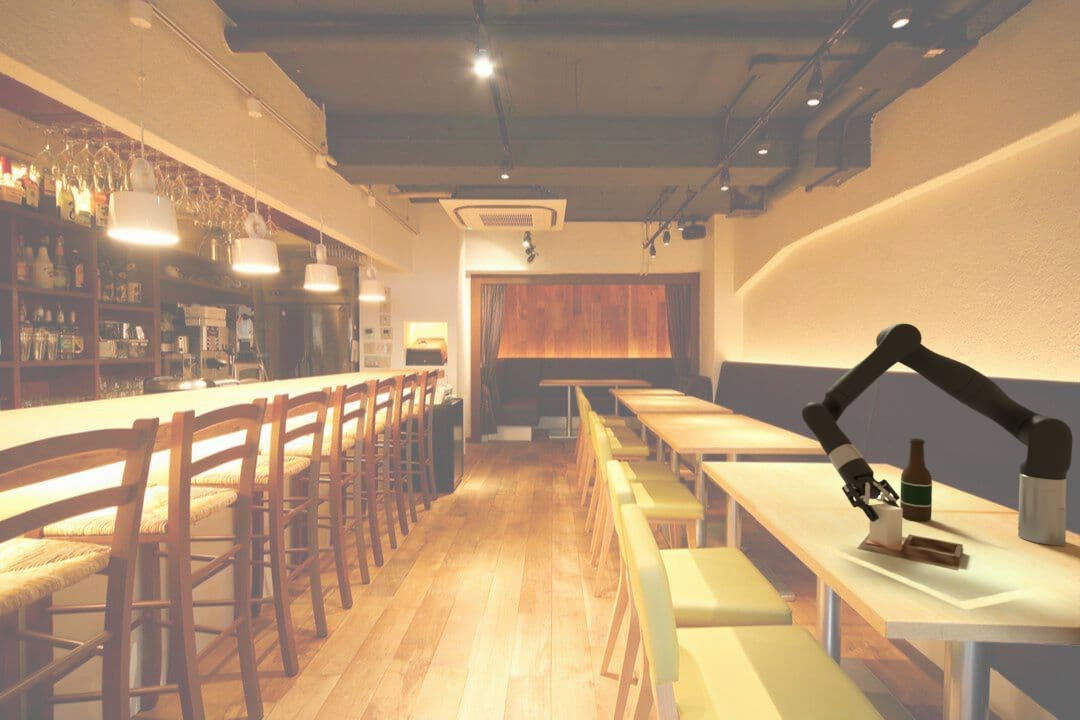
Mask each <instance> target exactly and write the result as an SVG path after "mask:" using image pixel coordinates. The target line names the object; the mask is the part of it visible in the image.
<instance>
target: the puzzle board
mask: <svg viewBox="0 0 1080 720" xmlns="http://www.w3.org/2000/svg"><path fill="white" fill-rule="evenodd" d="M869 534H870V532H869V533H868V534H867V536H866V537H865V538H864V539H863V540H862V541H861V543H860V544H859V545H858V546H857V548H856V549H858V550H861V551H866V552H870V553H871V552H872V553H876V554H881V555H885V556H889V557H893V558H899V559H904V560H907V561H911V562H918V563H921V564H927V565H933V566H935V567H941V568H945V569H950V570H953V571H959V568H960V563H961V560H962V556H963V552H964V548H963V546H964V545H963V544H961V543H957V542H951V541H946V540H941V539H936V538H931V537H926V536H920V535H916V534H915V535H914V534H911V533H909V534H908V535H907V537H905V536H902V544H899V545H892V546H885V545H882V544H880V543H877V542H874V541H872V540H869Z"/></svg>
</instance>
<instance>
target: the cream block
mask: <svg viewBox="0 0 1080 720" xmlns="http://www.w3.org/2000/svg"><path fill="white" fill-rule="evenodd" d="M870 505H871V506H872V508H873V509H874V510H875V512H876V513H877V515H878V516H879V519H878V520H876V521H875V522H872V521H871V520H870V519H869V533H870V534H869V533H868V534H869V540H872V541H874V542H877V543H880V544H882V545H885V546H892V545H899V544H902V537H903V517H902V515H903V509H902V508H898V507H895V506H892V505H888V504H885V503H875V504H870Z"/></svg>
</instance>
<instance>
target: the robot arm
mask: <svg viewBox="0 0 1080 720" xmlns="http://www.w3.org/2000/svg"><path fill="white" fill-rule="evenodd" d="M922 338H923V337H922V333H921V331H920V330H919V329H918V328H917V327H916V326H914V325H912V324H911V323H910V324H909V323H897V324H893V325H891V326H888V327H885V328H884V329H881V331H879V333H878V334H877V336H876V340H875V342H876V348H875V349H873V351H872V352H871V353H869V354H868V356H865V358H864V359H862V360H861V361H860V362H859V363H857V364H856V365H855V366H854V367H852V368H851V369H849V370H848V371H846V373H844V374H843V375H842V376H841V377H840V378H838V379H837V380H836V381H835V382H834V383H833V384H832V385H831V386H830V387H829V388H828V389H827V390H826V392H825V393H824V394H825V395H824V399H823V400H822V401H821V402H818V401H817V402H816V401H812V402H808V403H806V404H805V405H804V406H803V408H802V411H801V416H802V417H801V418H802V419H803V422H804V423H805V424H806V425H807V428H808V429H809V430H810V431H811V432H812V433H813V434H814V436H815V437H816V439H817V440H818V442H819V444H820V445H821V448H822V449H823V451H824V453H826V455H827V456H828V458H829V460H830V462H831V464H832V465H833V467H834V469H835V470H836V472H837V473H838V474H839V476H840V477H841V479H842V480H843V482H844V483H845V484H844V485H843V486H842V487H841V489H842V492H843V493H844V494H845V496H846V498H847V499H848V501H849V503H850V505H851V506H852V507H853V508H859V509H860V510H862V511H863V513H864V515H866V517H867V518H868V520H869V521H870V520H871V521H872V522H875V521H876V520H878V519H879V516H878V515H877V513H876V512H875V510H874V509H873V508H872V506H871V505H872V504H870V500H876V501H878V502H882V504H884V503H885V504H888V505H892V506H895V507H898V508H900V506H899V505H898V503H897V501H898V500H900V499H901V496H900V495H899V494H898V493H897V492H896V491H895V489H894V488H893V487H892V486H891V484H890V483H889V482H888V480H886V479H885V478H883V479H882V480H881V481H878V480H876V479H875V477H874V474H875V473H874V470H873V469H872V468H871V467H870V465H869V463H868V462H867V461H866V459H865V457H863V455H862V453H860V451H859V450H858V449H857V448H856V447H855V446H854V445H853V443H852V442H851V440H850V439H849V438H848V437H847V435H846V434H845V433H844V431H842V430H841V428H840V427H839V425H838V423H837V421H838V420H839V418H841V416H842V415H843V413H844V412H845V410H846V409H847V408H848V407H849V406H851V404H852V403H853V402H855V401H856V400H857V399H858V398H859V397H860V396H861V395H862V394H863V393H864V392H865V391H866V390H867V389H868V388H869V387H870V386H871V385H872V384H873V383H875V381H877V379H879V378H880V377H881V376H882V375H883V374H885V372H887V371H888V370H889V369H890V368H892V367H893V366H894V365H896V364H897V363H898V364H899V363H900V364H901V365H903V366H905V367H907V368H909V369H911V370H913V371H914V372H916V373H917V374H918V375H920V376H921V377H923V378H925V380H927V381H928V382H930V383H931V384H933V385H934V386H935V387H937V388H938V389H940V390H942V391H943V392H945V393H946V394H947V395H948V396H950V397H952V398H954V399H955V400H957V401H958V402H960V403H962V404H963V405H964V406H967V407H968V408H970V409H971V410H973V411H975V412H977V413H979V414H980V415H983V416H984V417H986V418H988V419H990V420H992V421H993V422H995V423H996V424H997V425H998V426H1000V427H1002V429H1004V430H1005V431H1006V432H1008V433H1009V434H1010V435H1012V437H1014V438H1015V439H1016V440H1018V441H1019V442H1020V443H1021V444H1023V445H1024V446H1026V447H1027V453H1026V454H1027V456H1026V459H1025V461H1023V462H1021V463H1020V465H1019V486H1018V487H1019V488H1018V490H1019V491H1018V493H1019V496H1018V527H1017V536H1018V537H1019V538H1021V539H1024V540H1026V541H1029V542H1033V543H1037V544H1041V545H1048V546H1049V544H1050V546H1061V545H1062V547H1066V532H1067V508H1066V504H1067V503H1066V502H1067V501H1066V500H1067V474H1068V472H1069V470H1070V468H1071V464H1072V457H1073V455H1072V454H1073V441H1074V440H1073V439H1074V438H1073V433H1072V430H1071V428H1070V426H1069V425H1068V424H1067V423H1065V422H1064V421H1063V420H1060V419H1058V418H1054V417H1049V416H1046V415H1041V414H1039V413H1036V412H1035V411H1032V410H1031V409H1028V408H1027V407H1025V406H1024V405H1021V404H1019V403H1018V402H1016V401H1014V400H1013V398H1010V397H1009V396H1008V394H1007V393H1006V392H1004V390H1002V388H1001V387H1000V386H999V385H998V384H997V383H995V381H993V380H992V379H990V378H989V377H987V376H986V375H984V374H983V373H981V372H980V371H978V370H976V369H975V368H973V367H971V366H969V365H968V364H966V363H963V362H961V361H958V360H955V359H953V358H950V357H948V356H944V355H942V354H939V353H937V352H934V351H933V350H932V349H931V350H930V349H929V348H928V347H926V346H925V345H923V344H922ZM902 516H904V514H903V515H902Z"/></svg>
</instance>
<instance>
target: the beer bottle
mask: <svg viewBox="0 0 1080 720" xmlns="http://www.w3.org/2000/svg"><path fill="white" fill-rule="evenodd" d="M909 443H910V447H909V456H908V463H907V465H906V466H905V468H903V470H902V472H901V477H900V498H899V501H900V502H899V503H900V506H899V507H900V508H902V509H903V514H904V516H902V519H906V520H908V519H909V521H913V522H923V523H926V522H929V521H931V520H932V505H933V504H932V502H933V501H932V500H933V498H932V497H933V480H932V478H933V477H932V476H931V473H930V471H929V470H928V468H927V467H926V462H925V449H924V444H925V440H924V439H922V438H910V439H909Z"/></svg>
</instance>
